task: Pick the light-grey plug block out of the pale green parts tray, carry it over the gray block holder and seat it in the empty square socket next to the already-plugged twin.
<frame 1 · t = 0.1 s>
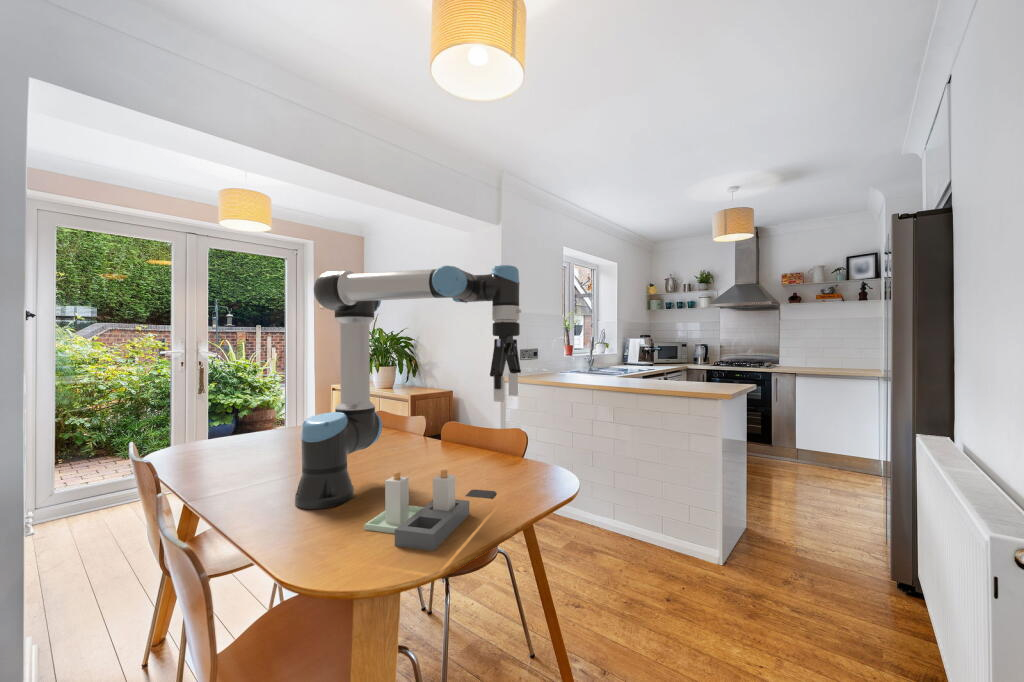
hand: (506, 398, 122), 28 cm above the table, fingers open, 13 cm apart
tray: (397, 522, 106), on the table
smartphone: (475, 503, 120), on the table
gray block holder: (435, 531, 101), on the table
plug: (397, 520, 106), point 1 cm above the table, touching tray
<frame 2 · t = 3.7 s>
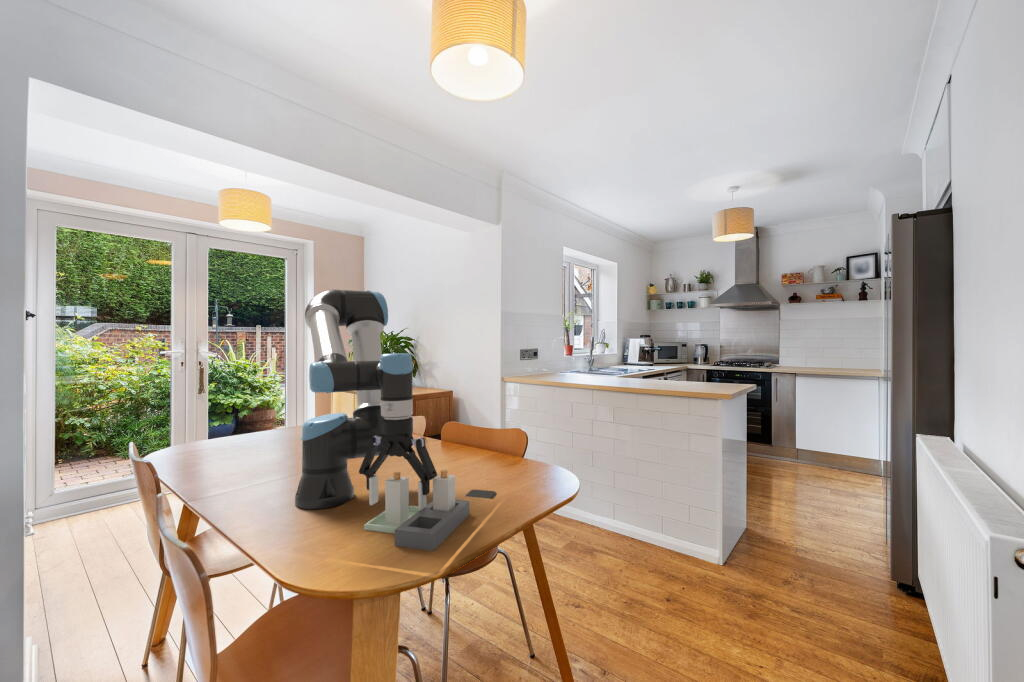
hand: (397, 505, 106), 4 cm above the table, fingers open, 12 cm apart
nothing on the table moved.
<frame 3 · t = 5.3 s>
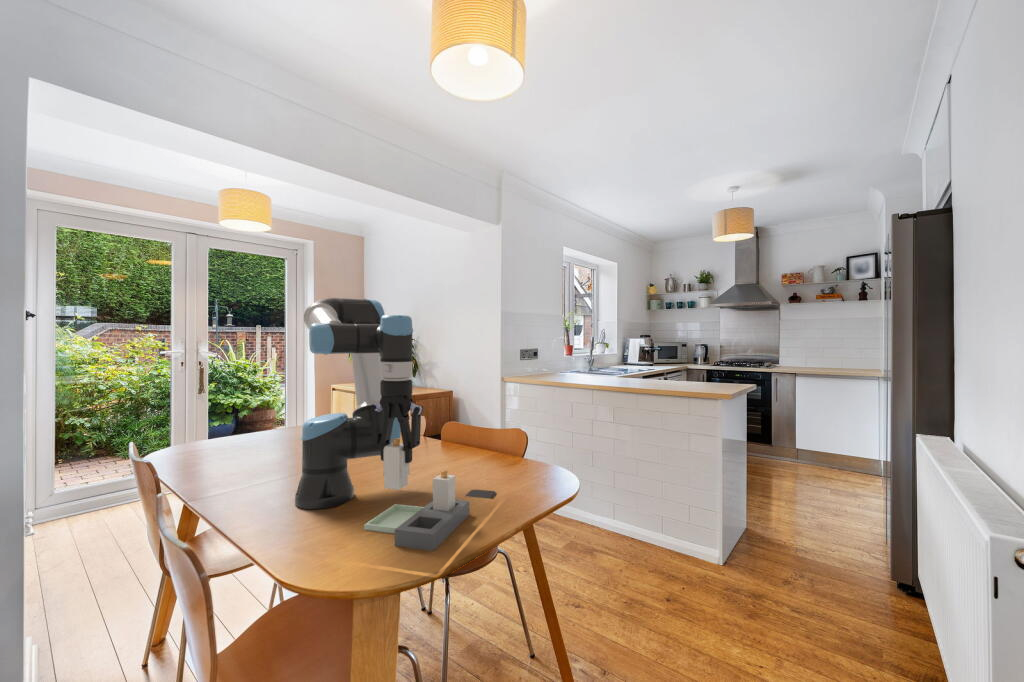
hand: (396, 474, 107), 11 cm above the table, fingers closed on plug, 4 cm apart
plug: (396, 486, 106), point 9 cm above the table, touching gripper
everything else where it was.
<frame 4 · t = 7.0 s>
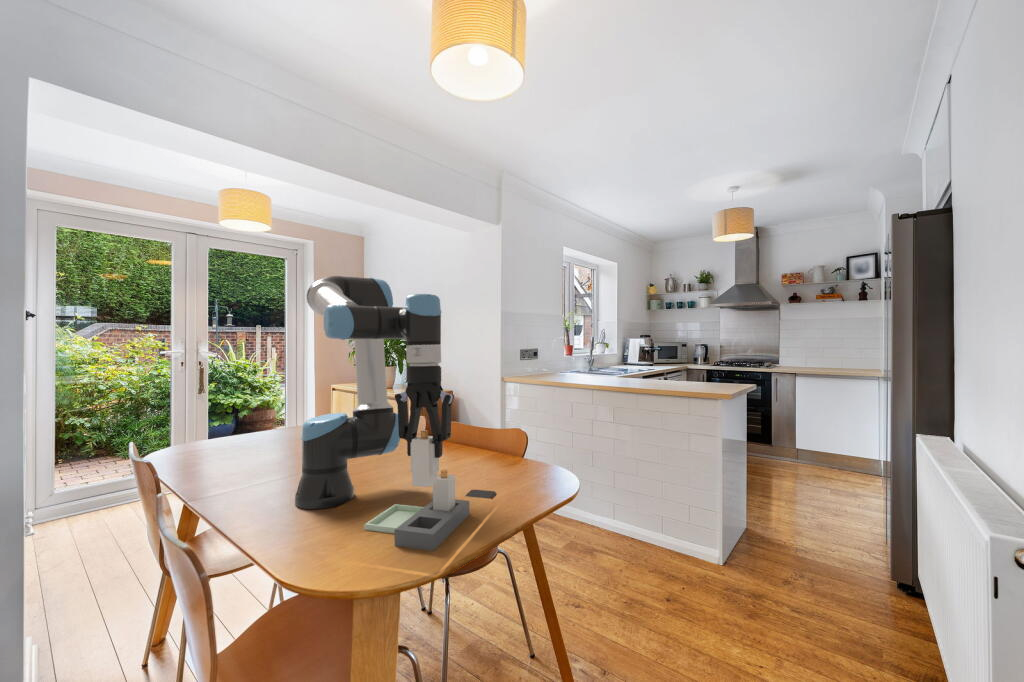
hand: (425, 471, 96), 15 cm above the table, fingers closed on plug, 4 cm apart
plug: (424, 483, 96), point 13 cm above the table, touching gripper
everything else where it was.
when the fingers open (5 cm above the table, at t = 9.2 s): plug stays where it is, resting on gray block holder.
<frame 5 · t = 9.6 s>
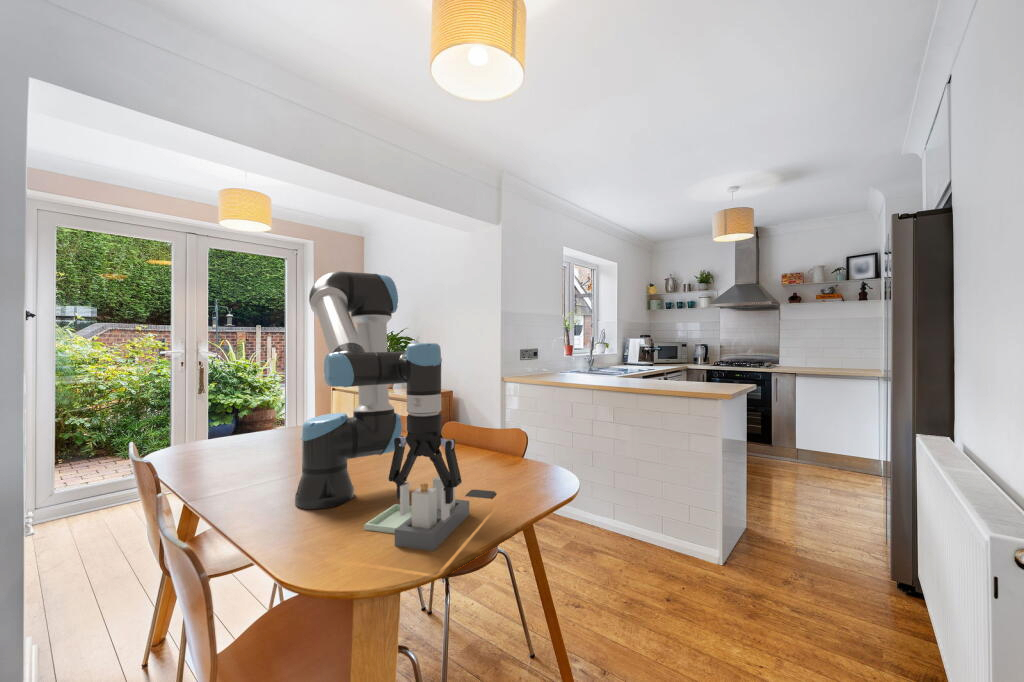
hand: (424, 515, 96), 6 cm above the table, fingers open, 9 cm apart
plug: (424, 536, 96), point 1 cm above the table, touching gray block holder
everything else where it was.
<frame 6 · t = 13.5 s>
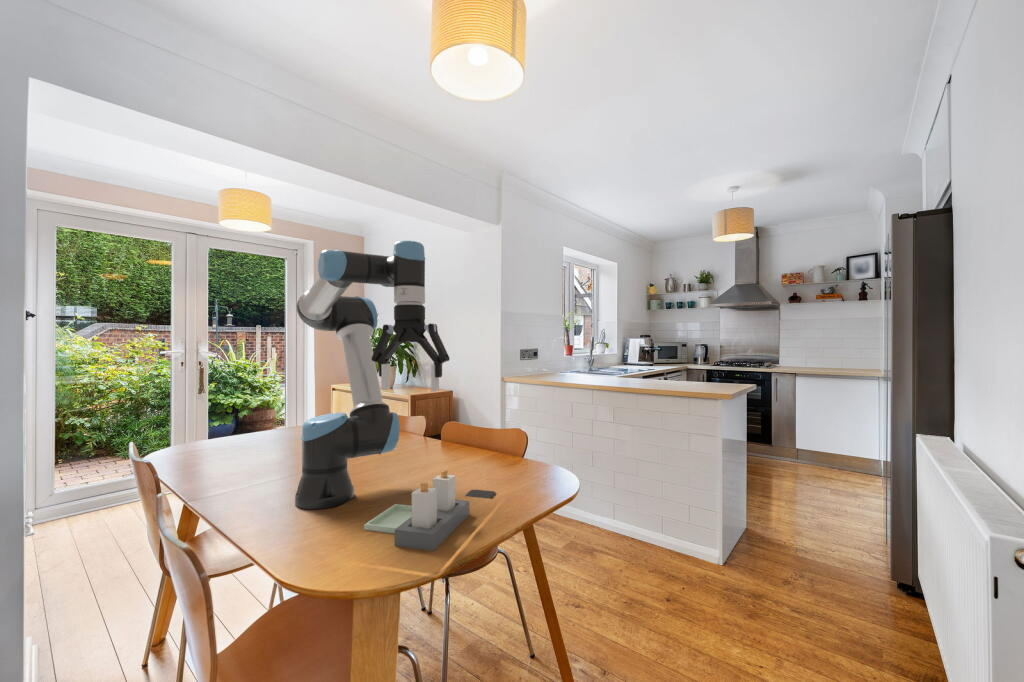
hand: (410, 390, 108), 32 cm above the table, fingers open, 13 cm apart
nothing on the table moved.
at the end: plug 0.2 cm from the target spot on the gray block holder, point 1.0 cm above the gray block holder's base; plug tilted 0°; the gripper is holding nothing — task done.
